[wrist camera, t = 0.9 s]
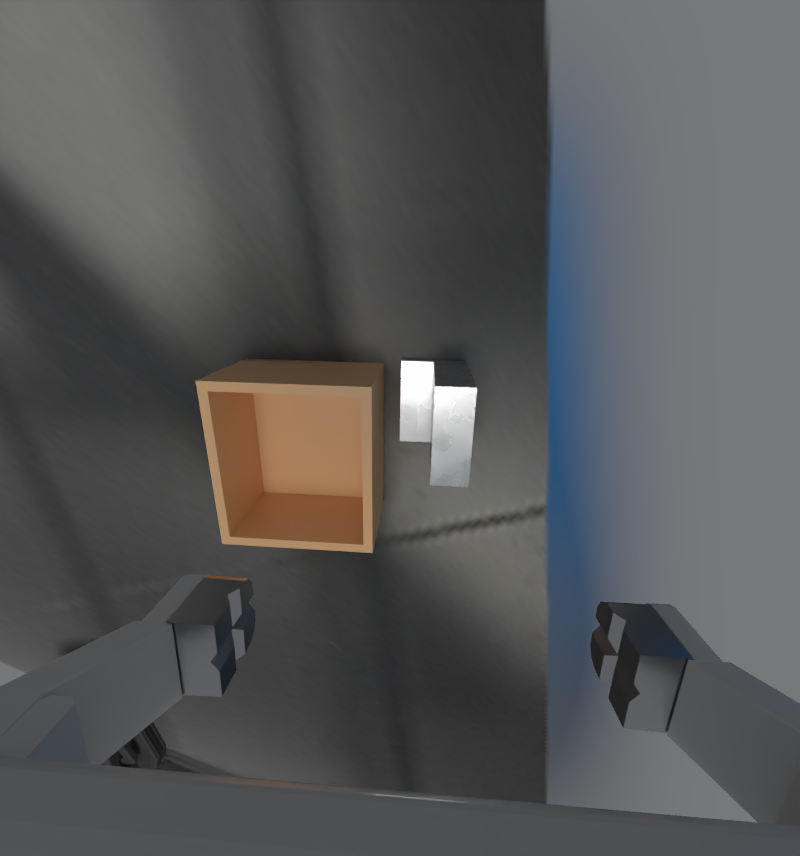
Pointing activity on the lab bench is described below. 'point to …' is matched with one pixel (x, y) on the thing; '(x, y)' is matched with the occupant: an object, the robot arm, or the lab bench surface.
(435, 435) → the aluminium bracket
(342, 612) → the lab bench surface
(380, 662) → the lab bench surface
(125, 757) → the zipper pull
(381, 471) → the open box
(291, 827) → the robot arm
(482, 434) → the lab bench surface
